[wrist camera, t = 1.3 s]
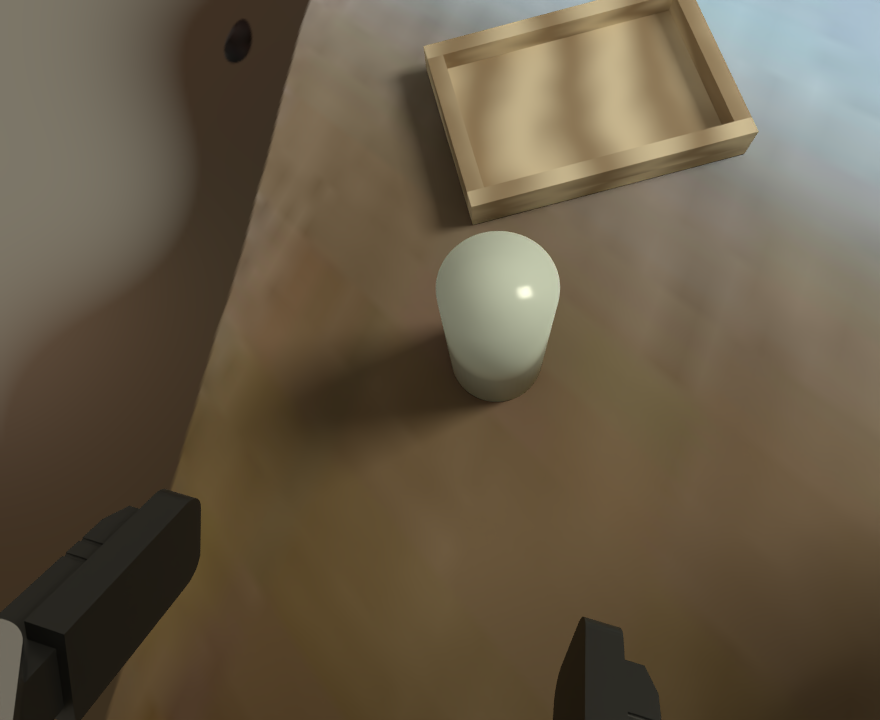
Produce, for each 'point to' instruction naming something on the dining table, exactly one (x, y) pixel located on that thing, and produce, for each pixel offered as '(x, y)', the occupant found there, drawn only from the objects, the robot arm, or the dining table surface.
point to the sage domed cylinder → (497, 312)
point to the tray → (584, 103)
